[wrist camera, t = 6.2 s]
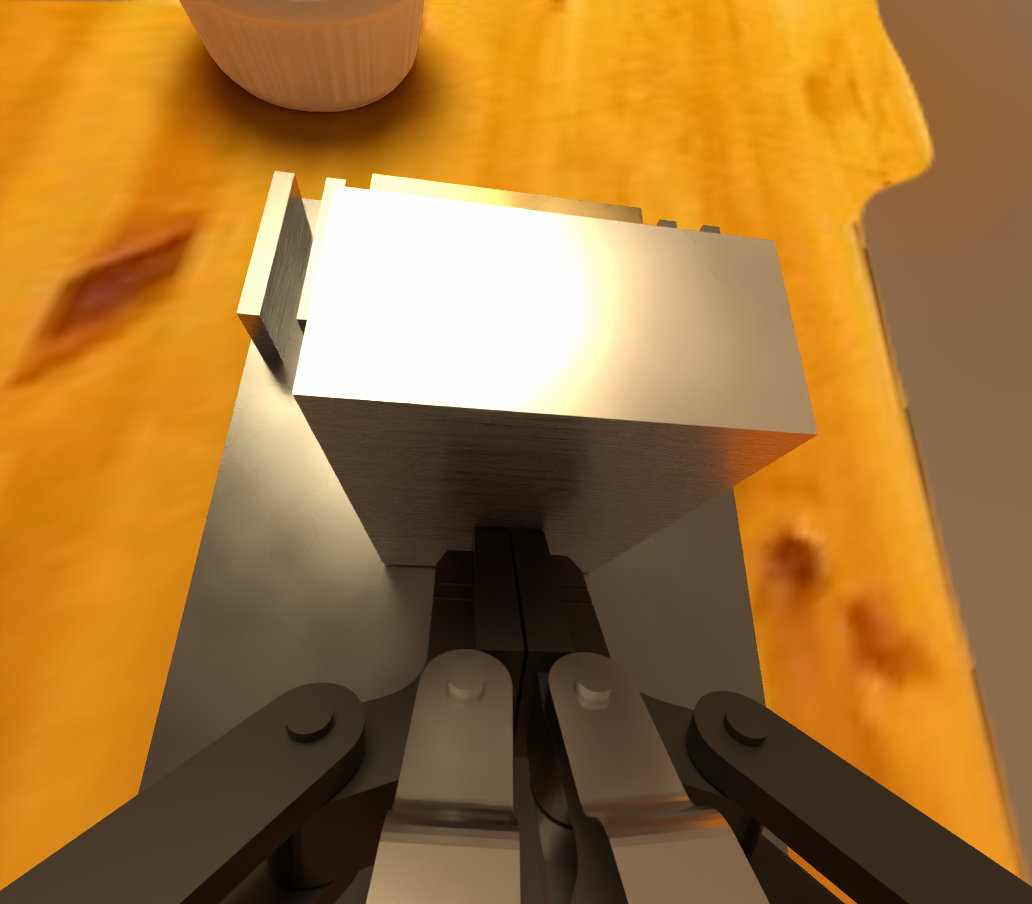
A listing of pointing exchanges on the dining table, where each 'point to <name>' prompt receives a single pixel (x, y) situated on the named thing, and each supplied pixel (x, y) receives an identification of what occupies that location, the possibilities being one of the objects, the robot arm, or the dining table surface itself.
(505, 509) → the metal angle bracket
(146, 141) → the dining table surface
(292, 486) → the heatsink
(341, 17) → the ramekin
